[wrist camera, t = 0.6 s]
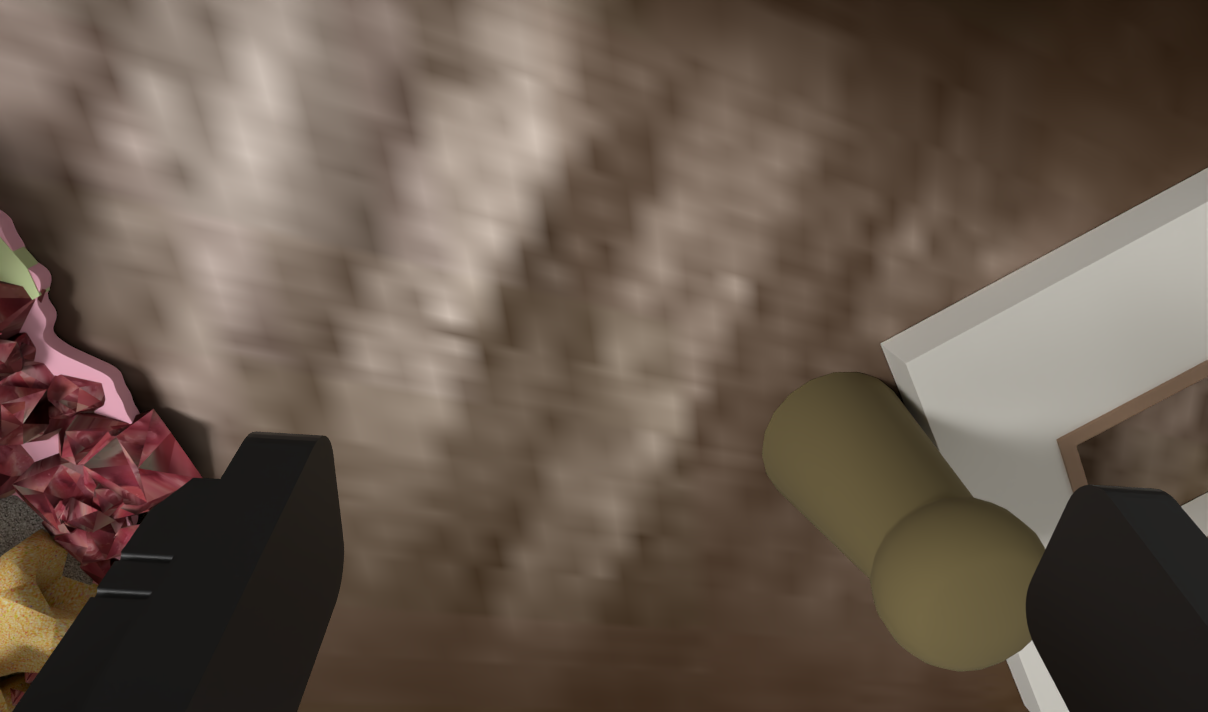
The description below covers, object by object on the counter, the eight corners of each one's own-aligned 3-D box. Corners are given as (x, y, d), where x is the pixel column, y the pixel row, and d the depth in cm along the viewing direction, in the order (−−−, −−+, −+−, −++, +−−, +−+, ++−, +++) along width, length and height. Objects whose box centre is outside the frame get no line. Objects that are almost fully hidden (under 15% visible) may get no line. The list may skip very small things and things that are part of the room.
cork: (926, 381, 34) (1127, 539, 24) (878, 512, 36) (1045, 709, 26) (785, 362, 32) (935, 520, 22) (744, 499, 34) (865, 701, 24)
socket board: (880, 343, 33) (907, 365, 31) (1306, 114, 32) (1362, 121, 30) (1024, 704, 41) (1053, 739, 39) (1360, 531, 41) (1406, 558, 39)
